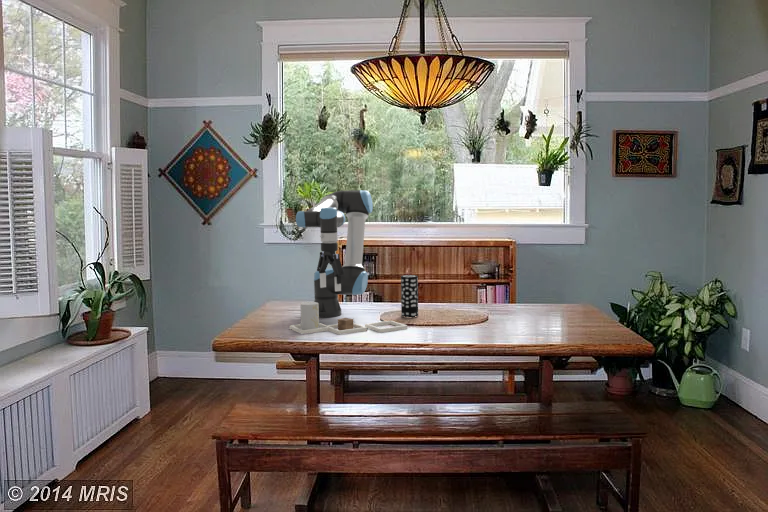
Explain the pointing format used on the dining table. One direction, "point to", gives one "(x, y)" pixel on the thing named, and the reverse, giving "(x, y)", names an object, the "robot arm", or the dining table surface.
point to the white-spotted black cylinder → (409, 295)
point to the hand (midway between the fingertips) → (330, 289)
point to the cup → (309, 315)
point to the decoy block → (345, 324)
